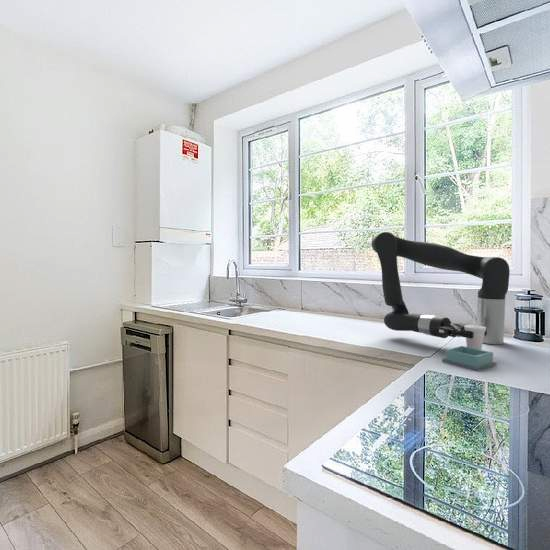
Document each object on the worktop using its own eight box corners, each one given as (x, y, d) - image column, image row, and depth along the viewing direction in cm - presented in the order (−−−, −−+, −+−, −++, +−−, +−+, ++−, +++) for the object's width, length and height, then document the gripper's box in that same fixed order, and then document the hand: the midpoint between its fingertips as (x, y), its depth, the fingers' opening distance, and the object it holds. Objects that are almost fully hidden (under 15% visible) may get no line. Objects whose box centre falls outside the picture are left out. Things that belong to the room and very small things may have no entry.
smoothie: (479, 353, 120) (480, 312, 119) (488, 358, 114) (490, 315, 113) (459, 352, 121) (461, 312, 120) (468, 357, 114) (469, 315, 114)
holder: (460, 356, 115) (461, 345, 115) (496, 365, 106) (497, 352, 106) (441, 361, 109) (442, 349, 109) (478, 371, 100) (478, 358, 100)
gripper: (422, 317, 125) (468, 324, 111) (445, 314, 133) (491, 320, 119) (422, 338, 125) (468, 347, 112) (444, 333, 133) (490, 342, 119)
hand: (479, 333), depth 115 cm, fingers open, 8 cm apart
